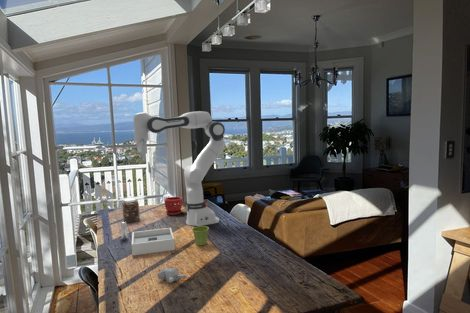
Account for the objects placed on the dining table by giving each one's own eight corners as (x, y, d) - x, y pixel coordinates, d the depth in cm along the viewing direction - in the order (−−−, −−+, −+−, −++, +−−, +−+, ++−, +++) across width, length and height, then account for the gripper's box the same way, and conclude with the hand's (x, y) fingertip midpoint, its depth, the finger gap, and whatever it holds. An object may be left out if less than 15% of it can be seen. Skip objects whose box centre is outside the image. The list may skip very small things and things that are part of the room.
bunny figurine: (173, 263, 161) (187, 269, 149) (174, 274, 161) (189, 282, 149) (153, 268, 156) (167, 276, 144) (154, 280, 156) (168, 288, 144)
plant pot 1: (181, 215, 261) (180, 199, 260) (163, 216, 261) (162, 200, 260) (184, 211, 274) (183, 195, 273) (167, 211, 274) (166, 196, 273)
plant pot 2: (212, 241, 200) (211, 226, 199) (204, 247, 191) (203, 231, 190) (198, 240, 203) (197, 225, 203) (189, 245, 195) (188, 230, 194)
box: (171, 237, 211) (170, 227, 210) (174, 249, 190) (174, 238, 189) (133, 242, 205) (132, 232, 205) (132, 255, 184) (131, 244, 183)
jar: (143, 218, 256) (142, 198, 255) (130, 222, 247) (129, 201, 245) (132, 217, 263) (130, 197, 261) (119, 221, 253) (118, 200, 252)
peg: (127, 237, 215) (126, 221, 214) (127, 239, 211) (126, 222, 210) (122, 238, 214) (120, 222, 213) (121, 239, 211) (120, 223, 210)
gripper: (148, 138, 216) (150, 160, 217) (144, 137, 235) (145, 158, 236) (138, 138, 214) (139, 161, 215) (134, 138, 233) (136, 158, 234)
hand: (142, 159), depth 226 cm, fingers open, 8 cm apart
